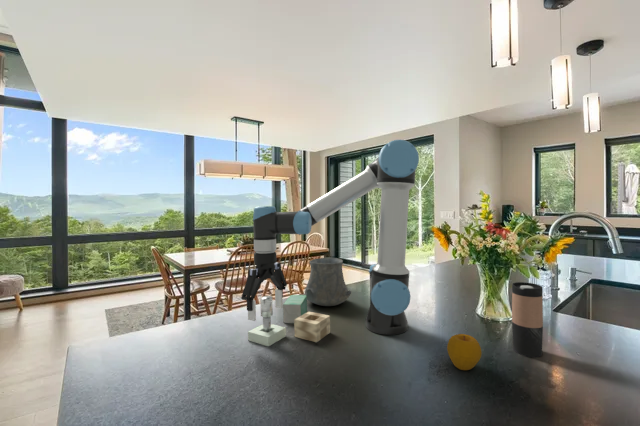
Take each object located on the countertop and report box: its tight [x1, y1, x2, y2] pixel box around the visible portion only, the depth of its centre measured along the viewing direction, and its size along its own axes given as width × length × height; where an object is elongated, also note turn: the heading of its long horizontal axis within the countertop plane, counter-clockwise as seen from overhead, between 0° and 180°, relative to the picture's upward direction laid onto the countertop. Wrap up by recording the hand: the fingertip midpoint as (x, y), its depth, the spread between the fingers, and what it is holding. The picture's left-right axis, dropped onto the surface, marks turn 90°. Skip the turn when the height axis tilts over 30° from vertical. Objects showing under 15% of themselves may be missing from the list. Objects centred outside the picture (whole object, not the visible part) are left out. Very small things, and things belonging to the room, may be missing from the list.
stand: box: [247, 323, 287, 347], centre depth 105 cm, size 9×9×3 cm
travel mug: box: [511, 281, 544, 358], centre depth 92 cm, size 8×8×20 cm
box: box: [282, 294, 308, 324], centre depth 125 cm, size 7×14×8 cm, turn 173°
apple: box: [446, 333, 483, 371], centre depth 84 cm, size 8×8×9 cm
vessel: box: [303, 257, 352, 307], centre depth 141 cm, size 22×22×20 cm
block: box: [293, 311, 331, 343], centre depth 107 cm, size 9×9×6 cm
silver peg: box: [259, 295, 274, 333], centre depth 105 cm, size 4×4×14 cm
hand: (266, 313), depth 105 cm, fingers open, 13 cm apart
